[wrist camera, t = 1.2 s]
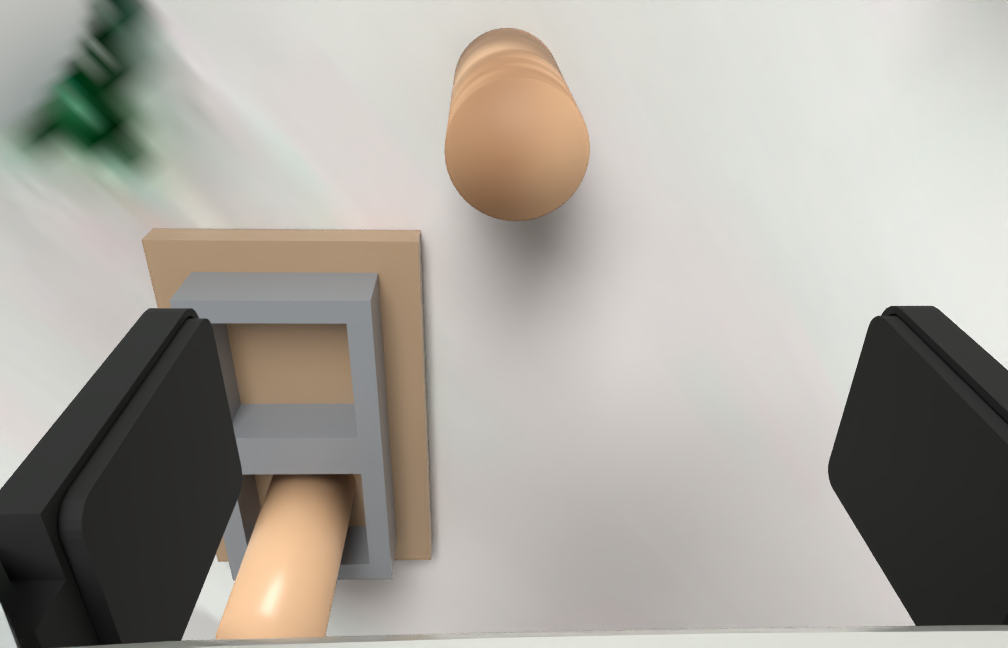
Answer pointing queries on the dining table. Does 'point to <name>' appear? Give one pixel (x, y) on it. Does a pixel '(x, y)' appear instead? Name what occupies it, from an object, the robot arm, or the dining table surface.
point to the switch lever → (513, 128)
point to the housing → (311, 408)
